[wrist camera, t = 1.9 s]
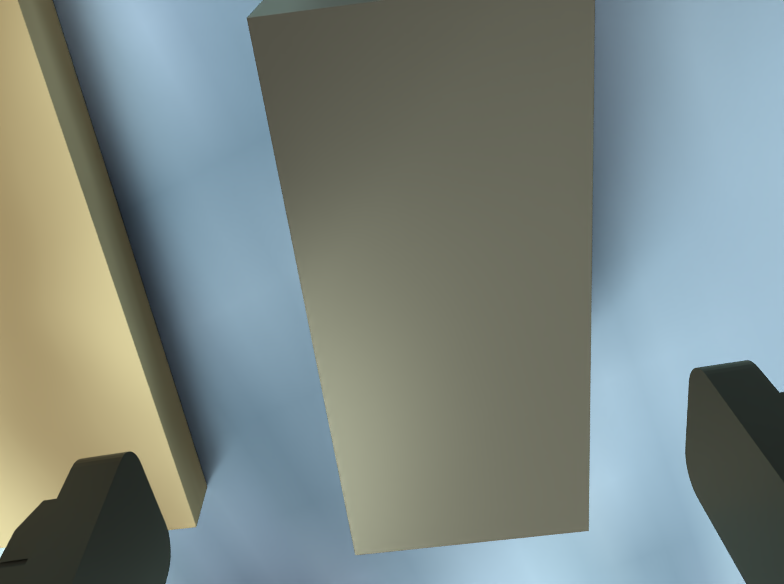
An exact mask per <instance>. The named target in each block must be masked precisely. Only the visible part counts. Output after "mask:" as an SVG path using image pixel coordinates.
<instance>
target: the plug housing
mask: <svg viewBox="0 0 784 584" xmlns="http://www.w3.org/2000/svg"><path fill="white" fill-rule="evenodd" d="M247 21H248V26H249V31H250V36H251V41H252V46H253V51H254V56H255V61H256V66H257V71H258V76H259V81H260V86H261V90H262V95H263V100H264V105H265V110H266V115H267V120H268V125H269V130H270V135H271V140H272V145H273V150H274V155H275V160H276V165H277V170H278V175H279V180H280V185H281V189H282V194H283V199H284V204H285V209H286V214H287V219H288V224H289V229H290V234H291V239H292V244H293V249H294V254H295V259H296V264H297V269H298V274H299V279H300V284H301V288H302V293H303V298H304V303H305V308H306V313H307V318H308V323H309V328H310V333H311V338H312V343H313V348H314V353H315V358H316V363H317V368H318V373H319V378H320V382H321V387H322V392H323V397H324V402H325V407H326V412H327V417H328V422H329V427H330V432H331V437H332V442H333V447H334V452H335V457H336V462H337V467H338V472H339V477H340V481H341V486H342V491H343V496H344V501H345V506H346V511H347V516H348V521H349V526H350V531H351V536H352V541H353V546H354V551H355V555H362V554H372V553H381V552H391V551H400V550H410V549H420V548H429V547H439V546H448V545H458V544H467V543H477V542H486V541H496V540H506V539H515V538H525V537H534V536H544V535H553V534H563V533H573V532H582V531H589V455H590V370H591V285H592V200H593V115H594V30H595V0H263V1H262V2H261V3H260V4H259V5H258V6H257V7H256V8H255V9H254V11H253V12H252V13H251V14H250V15H249V16H248V17H247Z"/></svg>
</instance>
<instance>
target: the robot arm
mask: <svg viewBox="0 0 784 584" xmlns="http://www.w3.org/2000/svg"><path fill="white" fill-rule="evenodd" d="M685 455H686V464H687V470H688V474H689V478H690V481H691V484H692V487H693V489H694V491H695V494H696V496H697V498H698V499H699V501H700V503H701V505H702V506H703V508H704V510H705V512H706V513H707V515H708V517H709V519H710V521H711V522H712V524H713V526H714V528H715V529H716V531H717V533H718V535H719V536H720V538H721V540H722V542H723V544H724V545H725V547H726V549H727V551H728V552H729V554H730V556H731V558H732V559H733V561H734V563H735V565H736V567H737V568H738V570H739V572H740V574H741V575H742V577H743V579H744V581H745V582H746V584H784V392H781V393H779V391H778V390H777V389H776V388H775V387H774V386H773V384H772V383H771V382H770V381H769V380H768V378H767V377H766V376H765V375H764V374H763V372H762V371H761V370H760V369H759V368H758V367H757V366H756V365H755V364H754V363H753V362H752V361H749V360H745V361H739V362H732V363H725V364H719V365H712V366H705V367H699V368H694V369H693V370H692V372H691V374H690V378H689V391H688V410H687V428H686V447H685ZM170 557H171V549H170V538H169V533H168V529H167V526H166V523H165V520H164V518H163V515H162V513H161V511H160V508H159V506H158V503H157V501H156V498H155V496H154V493H153V491H152V489H151V486H150V484H149V481H148V479H147V476H146V474H145V471H144V469H143V467H142V464H141V462H140V460H139V458H138V457H137V455H136V454H135V453H133V452H131V451H128V452H122V453H115V454H108V455H102V456H95V457H88V458H82V459H78V460H77V461H76V462H75V463H74V464H73V466H72V468H71V470H70V472H69V474H68V476H67V478H66V480H65V482H64V484H63V486H62V488H61V490H60V493H59V495H58V497H57V499H50V500H43V501H42V502H41V503H40V505H39V506H38V507H37V508H36V509H35V510H34V511H33V512H32V513H31V514H30V515H29V516H28V517H27V518H26V519H25V520H24V521H23V522H22V523H21V524H20V525H19V526H18V527H17V528H16V530H15V531H14V533H13V535H12V537H11V538H10V540H9V542H8V544H7V546H6V548H5V550H4V552H3V554H2V556H1V558H0V584H165V583H166V579H167V576H168V572H169V567H170Z"/></svg>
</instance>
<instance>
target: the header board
mask: <svg viewBox="0 0 784 584" xmlns="http://www.w3.org/2000/svg"><path fill="white" fill-rule="evenodd" d="M128 451H131V452H133V453H135V454H136V455H137V457H138V458H139V460H140V462H141V464H142V467H143V469H144V471H145V474H146V476H147V479H148V481H149V484H150V486H151V489H152V491H153V493H154V496H155V498H156V501H157V503H158V506H159V508H160V511H161V513H162V515H163V518H164V520H165V523H166V526H167V529H168V530H173V529H183V528H192V527H196V526H197V523H198V519H199V515H200V512H201V508H202V504H203V500H204V497H205V493H206V489H207V484H206V481H205V478H204V475H203V472H202V469H201V466H200V462H199V459H198V456H197V453H196V450H195V447H194V444H193V440H192V437H191V434H190V431H189V428H188V425H187V422H186V418H185V415H184V412H183V409H182V406H181V403H180V400H179V396H178V393H177V390H176V387H175V384H174V381H173V378H172V374H171V371H170V368H169V365H168V362H167V359H166V356H165V352H164V349H163V346H162V343H161V340H160V337H159V334H158V330H157V327H156V324H155V321H154V318H153V315H152V312H151V308H150V305H149V302H148V299H147V296H146V293H145V290H144V286H143V283H142V280H141V277H140V274H139V271H138V268H137V264H136V261H135V258H134V255H133V252H132V249H131V245H130V242H129V239H128V236H127V233H126V230H125V227H124V223H123V220H122V217H121V214H120V211H119V208H118V205H117V201H116V198H115V195H114V192H113V189H112V186H111V183H110V179H109V176H108V173H107V170H106V167H105V164H104V161H103V157H102V154H101V151H100V148H99V145H98V142H97V139H96V135H95V132H94V129H93V126H92V123H91V120H90V117H89V113H88V110H87V107H86V104H85V101H84V98H83V95H82V91H81V88H80V85H79V82H78V79H77V76H76V73H75V69H74V66H73V63H72V60H71V57H70V54H69V51H68V47H67V44H66V41H65V38H64V35H63V32H62V29H61V25H60V22H59V19H58V16H57V13H56V10H55V7H54V3H53V0H0V548H5V547H6V546H7V544H8V542H9V540H10V538H11V537H12V535H13V533H14V531H15V530H16V528H17V527H18V526H19V525H20V524H21V523H22V522H23V521H24V520H25V519H26V518H27V517H28V516H29V515H30V514H31V513H32V512H33V511H34V510H35V509H36V508H37V507H38V506H39V505H40V503H41V502H42V501H43V500H50V499H57V497H58V495H59V493H60V490H61V488H62V486H63V484H64V482H65V480H66V478H67V476H68V474H69V472H70V470H71V468H72V466H73V464H74V463H75V462H76V461H77V460H78V459H82V458H88V457H95V456H102V455H108V454H115V453H122V452H128Z"/></svg>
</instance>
